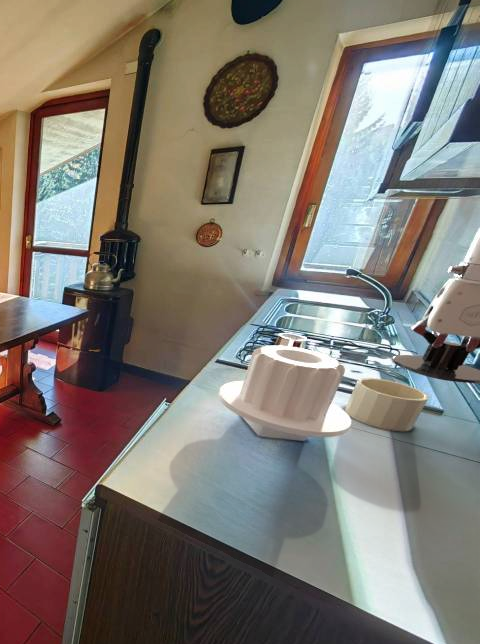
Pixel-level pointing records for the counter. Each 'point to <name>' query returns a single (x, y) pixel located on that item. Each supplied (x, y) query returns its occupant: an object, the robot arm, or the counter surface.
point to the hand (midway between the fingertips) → (439, 365)
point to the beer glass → (291, 340)
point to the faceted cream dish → (386, 404)
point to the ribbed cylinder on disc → (289, 394)
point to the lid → (439, 366)
